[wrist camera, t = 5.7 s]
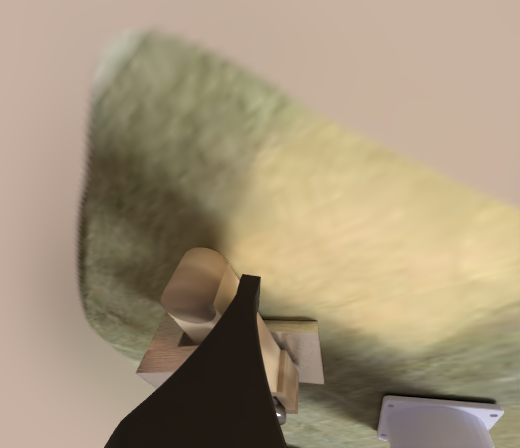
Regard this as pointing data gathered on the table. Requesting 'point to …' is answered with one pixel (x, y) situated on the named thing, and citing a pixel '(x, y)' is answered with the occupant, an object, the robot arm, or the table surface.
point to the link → (213, 307)
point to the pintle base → (298, 352)
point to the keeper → (165, 352)
